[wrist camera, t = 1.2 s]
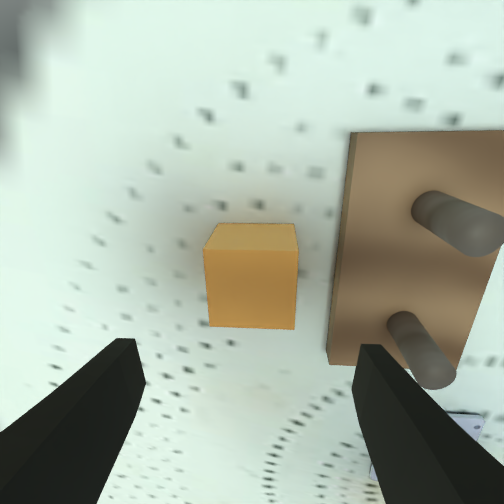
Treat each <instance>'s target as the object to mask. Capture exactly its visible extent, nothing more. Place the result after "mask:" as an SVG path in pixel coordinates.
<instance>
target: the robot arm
mask: <svg viewBox="0 0 504 504" xmlns="http://www.w3.org/2000/svg"><path fill="white" fill-rule="evenodd" d="M145 385H146V381H145V377H144V373H143V369H142V365H141V361H140V357H139V353H138V349H137V345H136V341H135V339H130V338H116V339H115V340H114V341H113V342H111V343H110V344H109V345H108V346H106V347H105V348H104V349H103V350H102V351H100V352H99V353H98V354H97V355H96V356H95V357H93V358H92V359H91V360H90V361H89V362H88V363H86V364H85V365H84V366H83V367H82V368H81V369H79V370H78V371H77V372H76V373H75V374H73V375H72V376H71V377H70V378H69V379H67V380H66V381H65V382H64V383H63V384H61V385H60V386H59V387H58V388H57V389H55V390H54V391H53V392H52V393H51V394H49V395H48V396H47V397H45V398H44V399H43V400H42V401H40V402H39V403H38V404H36V405H35V406H34V407H33V408H31V409H30V410H29V411H28V412H26V413H25V414H24V415H22V416H21V417H20V418H19V419H17V420H16V421H15V422H13V423H12V424H11V425H10V426H8V427H7V428H6V429H4V430H3V431H1V432H0V504H97V501H98V499H99V497H100V494H101V492H102V490H103V488H104V486H105V483H106V481H107V479H108V477H109V474H110V472H111V470H112V468H113V466H114V463H115V461H116V459H117V457H118V454H119V452H120V450H121V448H122V446H123V443H124V441H125V439H126V437H127V434H128V432H129V430H130V428H131V425H132V423H133V421H134V418H135V416H136V413H137V410H138V407H139V404H140V401H141V398H142V395H143V391H144V388H145ZM352 394H353V398H354V403H355V408H356V412H357V417H358V421H359V425H360V428H361V431H362V434H363V437H364V440H365V443H366V446H367V449H368V452H369V455H370V458H371V461H372V466H371V470H370V477H371V479H372V480H375V481H378V482H379V485H380V488H381V491H382V494H383V497H384V500H385V503H386V504H504V466H503V465H502V464H501V463H500V462H499V461H497V460H496V459H495V458H494V457H493V456H492V455H491V454H490V453H488V452H487V451H486V450H485V449H484V448H483V447H482V446H481V445H480V444H479V443H478V442H477V439H478V437H479V435H480V433H481V431H482V429H483V426H484V424H485V420H484V419H483V417H482V416H479V415H466V414H449V413H446V412H445V411H444V410H443V409H442V408H441V407H440V406H439V405H438V404H437V403H436V402H435V401H434V400H433V399H432V398H431V397H430V396H429V395H428V394H427V393H426V392H425V391H424V390H423V389H422V388H421V386H420V385H419V384H418V383H417V382H416V381H415V380H414V379H413V378H412V377H411V376H410V375H409V374H408V373H407V372H406V371H405V370H404V368H403V367H402V366H401V365H400V364H399V363H398V362H397V361H396V360H395V359H394V358H393V357H392V356H391V354H390V353H389V352H388V351H387V350H386V349H385V348H384V347H383V346H382V345H381V344H361V346H360V350H359V355H358V360H357V365H356V370H355V375H354V379H353V384H352Z"/></svg>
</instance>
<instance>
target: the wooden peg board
mask: <svg viewBox="0 0 504 504" xmlns="http://www.w3.org/2000/svg"><path fill="white" fill-rule="evenodd" d="M503 243H504V130H486V131H417V132H351V137H350V146H349V154H348V163H347V172H346V180H345V189H344V198H343V207H342V215H341V224H340V233H339V242H338V250H337V259H336V268H335V276H334V285H333V294H332V303H331V311H330V320H329V329H328V338H327V346H326V353H327V357H328V362H329V365H345V366H356V365H357V360H358V355H359V350H360V346H361V344H381V345H382V346H383V347H384V348H385V349H386V350H387V351H388V352H389V353H390V354H391V356H392V357H393V358H394V359H395V360H396V361H397V362H398V363H399V364H400V365H401V366H402V367H403V368H408V369H410V370H411V372H412V374H413V375H414V377H415V379H416V381H417V383H418V384H419V385H420V386H421V387H423V388H425V389H430V390H437V389H442V388H444V387H447V386H448V385H450V384H451V383H452V382H453V381H454V380H455V378H456V369H457V366H458V364H459V361H460V358H461V355H462V352H463V350H464V347H465V344H466V341H467V339H468V336H469V333H470V330H471V328H472V325H473V322H474V319H475V317H476V314H477V311H478V308H479V306H480V303H481V300H482V297H483V294H484V292H485V289H486V286H487V283H488V281H489V278H490V275H491V272H492V270H493V267H494V264H495V261H496V259H497V256H498V253H499V250H500V248H501V245H502V244H503Z"/></svg>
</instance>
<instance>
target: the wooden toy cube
mask: <svg viewBox="0 0 504 504" xmlns="http://www.w3.org/2000/svg"><path fill="white" fill-rule="evenodd" d="M298 256H299V250H298V244H297V239H296V233H295V228H294V224H255V223H218V225H217V227H216V228H215V230H214V232H213V233H212V235H211V237H210V238H209V240H208V242H207V243H206V245H205V247H204V248H203V257H204V268H205V279H206V290H207V301H208V312H209V323H210V327H236V328H262V329H288V330H294V328H295V310H296V292H297V274H298Z"/></svg>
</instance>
